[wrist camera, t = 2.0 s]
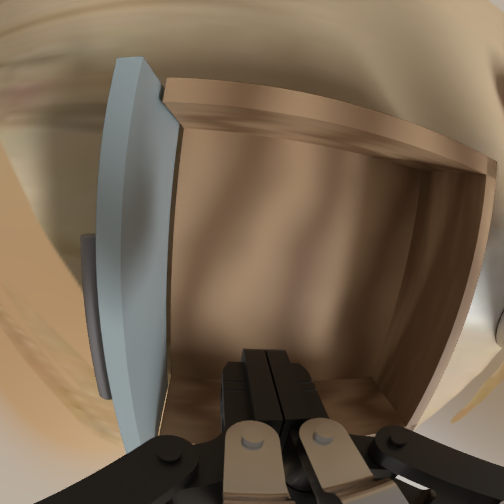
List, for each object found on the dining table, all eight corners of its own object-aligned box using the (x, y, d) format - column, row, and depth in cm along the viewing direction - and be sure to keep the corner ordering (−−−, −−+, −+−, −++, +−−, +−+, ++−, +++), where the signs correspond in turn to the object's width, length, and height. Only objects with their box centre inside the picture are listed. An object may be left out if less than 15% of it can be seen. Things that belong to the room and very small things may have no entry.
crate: (423, 160, 22) (497, 161, 13) (372, 376, 27) (411, 433, 19) (188, 115, 20) (166, 77, 11) (173, 375, 25) (160, 449, 16)
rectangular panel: (181, 113, 18) (143, 56, 8) (167, 385, 23) (149, 481, 13) (150, 112, 18) (89, 60, 8) (143, 382, 23) (117, 474, 13)
